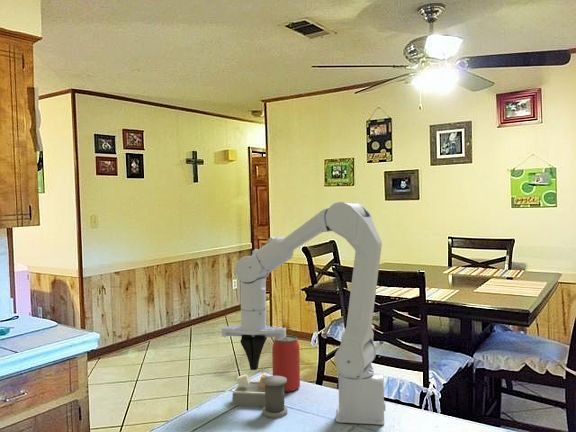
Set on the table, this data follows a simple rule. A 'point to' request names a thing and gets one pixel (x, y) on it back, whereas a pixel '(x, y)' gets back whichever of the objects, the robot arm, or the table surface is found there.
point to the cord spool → (274, 396)
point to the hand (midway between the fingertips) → (254, 368)
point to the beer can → (287, 361)
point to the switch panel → (250, 395)
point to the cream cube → (243, 380)
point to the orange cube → (261, 380)
